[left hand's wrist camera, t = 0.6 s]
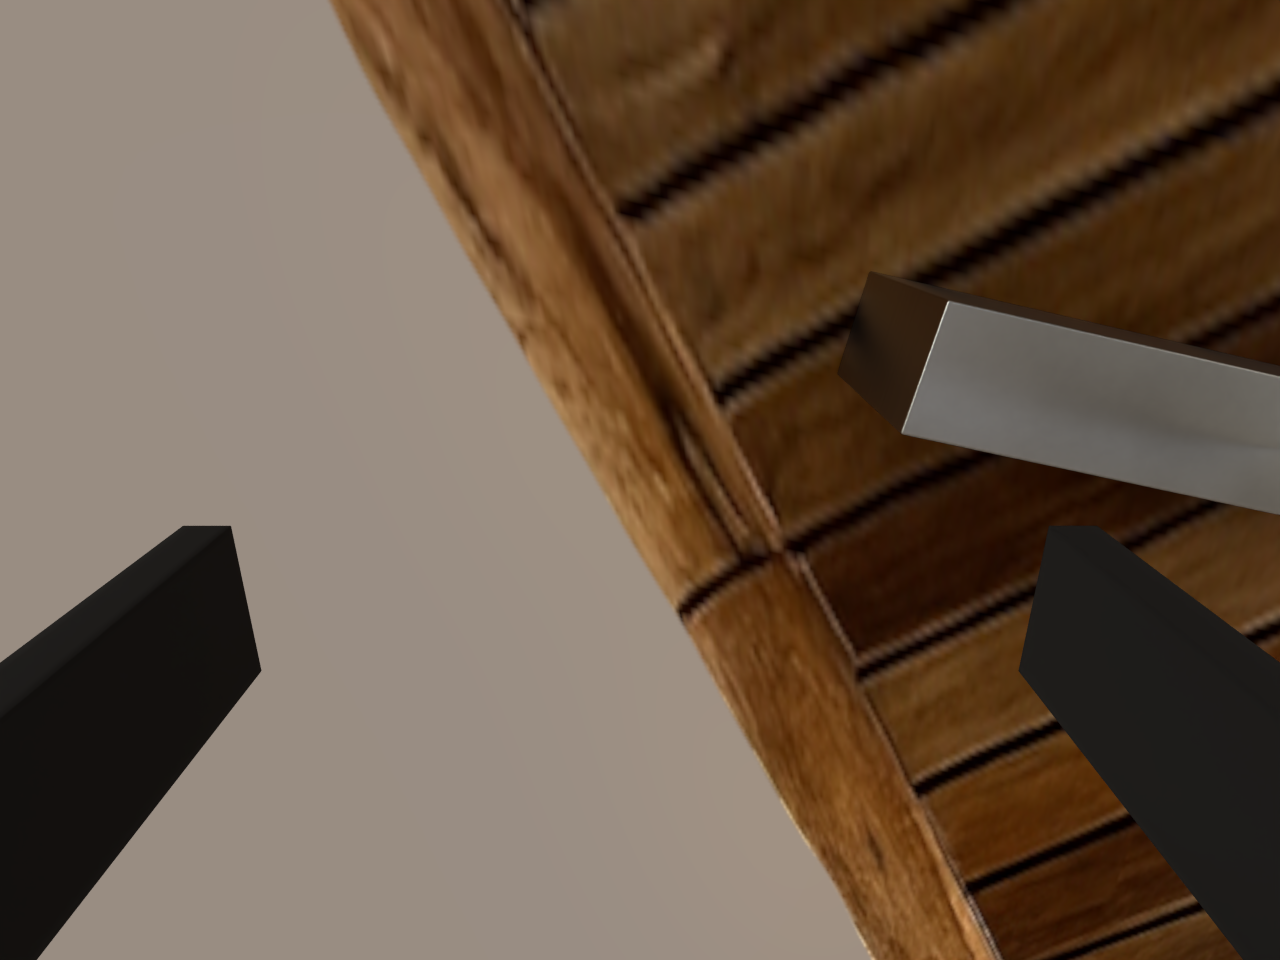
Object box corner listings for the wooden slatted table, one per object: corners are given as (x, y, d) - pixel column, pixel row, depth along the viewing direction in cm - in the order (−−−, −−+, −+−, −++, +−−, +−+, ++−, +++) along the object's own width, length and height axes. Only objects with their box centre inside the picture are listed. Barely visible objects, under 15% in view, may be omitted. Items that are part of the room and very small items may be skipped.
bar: (836, 374, 34) (900, 434, 26) (869, 270, 33) (948, 299, 24) (1361, 489, 36) (1576, 579, 28) (1416, 397, 35) (1661, 464, 26)
